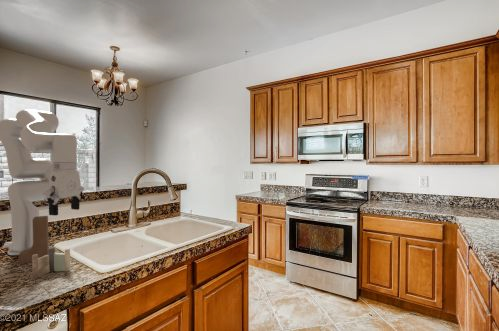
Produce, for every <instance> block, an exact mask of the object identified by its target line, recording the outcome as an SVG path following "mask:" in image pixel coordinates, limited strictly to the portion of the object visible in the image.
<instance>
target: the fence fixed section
mask: <svg viewBox="0 0 499 331" xmlns="http://www.w3.org/2000/svg"><path fill="white" fill-rule="evenodd" d="M55 248H56V247H55V246H52V247H50V246H49V248H48V255H45V256H43V257H40V258H38V254H34V255H32V262H31V263H32V264H31V265H32V268H31V270H32V271H31V272H32V273H31V274H32V280H35V279H39V278H40V277H42V276H45V275H46V274H48V273H50V272H53V271H54V254H55V252H56V250H55Z"/></svg>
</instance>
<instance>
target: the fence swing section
mask: <svg viewBox="0 0 499 331" xmlns="http://www.w3.org/2000/svg"><path fill="white" fill-rule="evenodd" d="M54 271H55V272H66V273H67V272H70V271H71V248H65V249H64V253H63V252H61V253H60V252H56V253H55V254H54Z"/></svg>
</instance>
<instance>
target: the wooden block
mask: <svg viewBox="0 0 499 331" xmlns="http://www.w3.org/2000/svg"><path fill="white" fill-rule="evenodd" d="M49 240H50V239H49V216H48V215H41V216H40V215H39V216H38V217H34V218H33V245H32V247H31V248H30V249H27V250H24V251H21V252H20V254H19V255H18V264H19V265H20V264H27V263H32V255H34V254H38V258H40V257H43V256H45V255H48V248H50V246H49V243H50V242H49Z"/></svg>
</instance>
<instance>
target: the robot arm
mask: <svg viewBox="0 0 499 331" xmlns="http://www.w3.org/2000/svg"><path fill="white" fill-rule="evenodd" d="M59 123H60V122H59V118H58V116H57V115H56V114H55V113H53V112H50V111H45V110H37V109H21V110H20V111H18V112H17V113H16V115H15V118H5V119H3V118H2V119H0V143H1V144H2V147H3V148H4V150H5V153H6V154H5V155H6V160H7V168H8V173H9V175H10V177H11V178H13V179H15V180H23V181H16V182H13V183H11V184H10V185H8V187H7V197H8V200H9V203H10V204H9V205H10V215H11V216H10V219H11V241H5V242H4V244H3V245H2V247H3V248H5V249H6V248H9V249H8V250H7V255H9V256H19V254H20V252H21V251H24V250H27V249H30V248H31V247H32V245H33V218H34V217H38V216H40V211H39V208H38V207H37V206H36V205H34V204H33V202H39V201H45V203H46V204H47V205H48V215H49V216H59V204H58V202H59V200H60V199H68V198H71V200H70V204H71V205H70V209H71V210H76V211H78V210H80V200H81V198H82V196H83V194H84V189H85V188H84V186H82V184H81V176H80V172H79V170H78V169H77V168H78V165H77V164H78V162H77V161H78V153H77V152H78V146H77V145H78V142H77V140H78V139H77V137H76V135H74V134H68V133H54V132H56V130H57V129H58V127H59ZM32 153H35V154H42V153H43V154H47V153H48V154H51V160H52V161H50V160H49V159H48V158H42V157H41V158H39V157H38V158H34V157H33V156H32ZM28 179H29V180H28ZM32 179H33V180H32ZM34 179H39V180H34Z"/></svg>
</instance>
